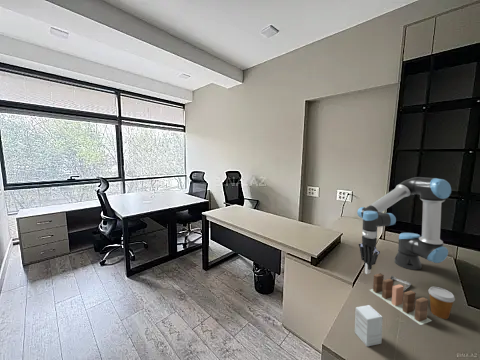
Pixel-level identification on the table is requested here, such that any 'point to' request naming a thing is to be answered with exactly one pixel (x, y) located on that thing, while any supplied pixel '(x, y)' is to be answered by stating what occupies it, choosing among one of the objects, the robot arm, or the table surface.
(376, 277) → the domino
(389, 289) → the domino
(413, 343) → the table surface
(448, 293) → the disposable coffee cup
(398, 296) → the domino
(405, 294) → the domino
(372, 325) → the supplement box
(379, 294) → the runner
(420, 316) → the domino
